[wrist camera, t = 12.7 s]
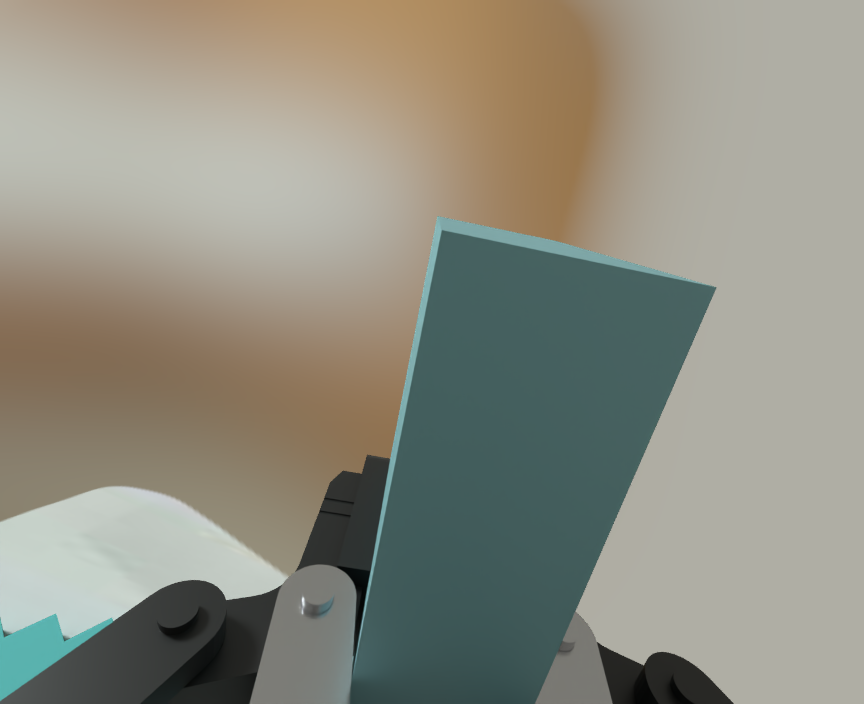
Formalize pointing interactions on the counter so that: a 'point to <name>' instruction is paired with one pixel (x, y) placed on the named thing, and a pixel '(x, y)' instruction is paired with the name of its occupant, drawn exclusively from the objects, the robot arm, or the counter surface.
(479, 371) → the block
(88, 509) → the counter surface
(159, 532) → the counter surface
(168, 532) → the counter surface
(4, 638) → the alien figure
